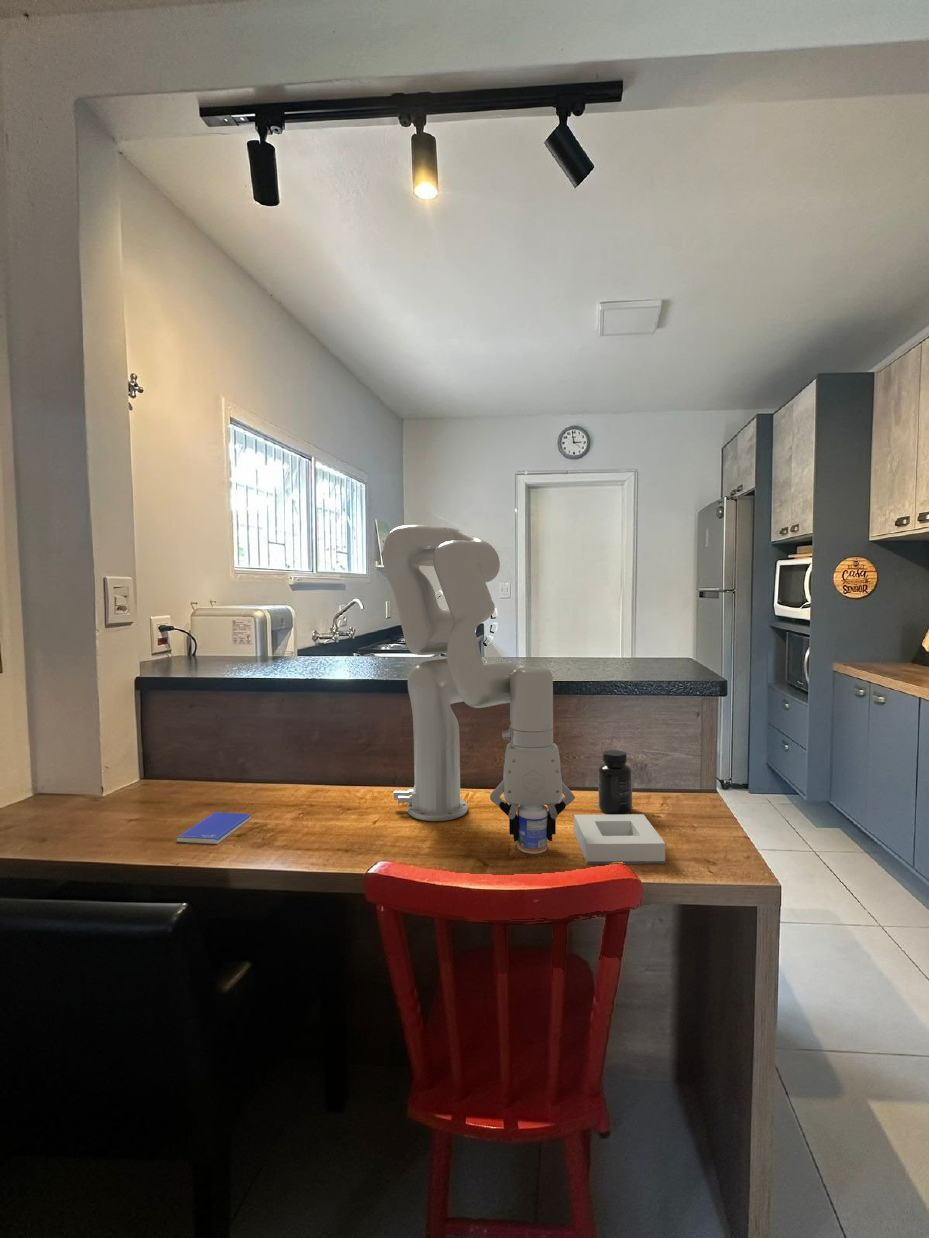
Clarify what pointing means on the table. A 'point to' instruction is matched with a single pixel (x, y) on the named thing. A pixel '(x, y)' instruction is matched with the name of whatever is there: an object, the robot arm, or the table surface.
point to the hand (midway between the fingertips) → (532, 837)
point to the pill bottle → (532, 828)
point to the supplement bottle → (615, 783)
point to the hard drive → (214, 828)
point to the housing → (618, 839)
